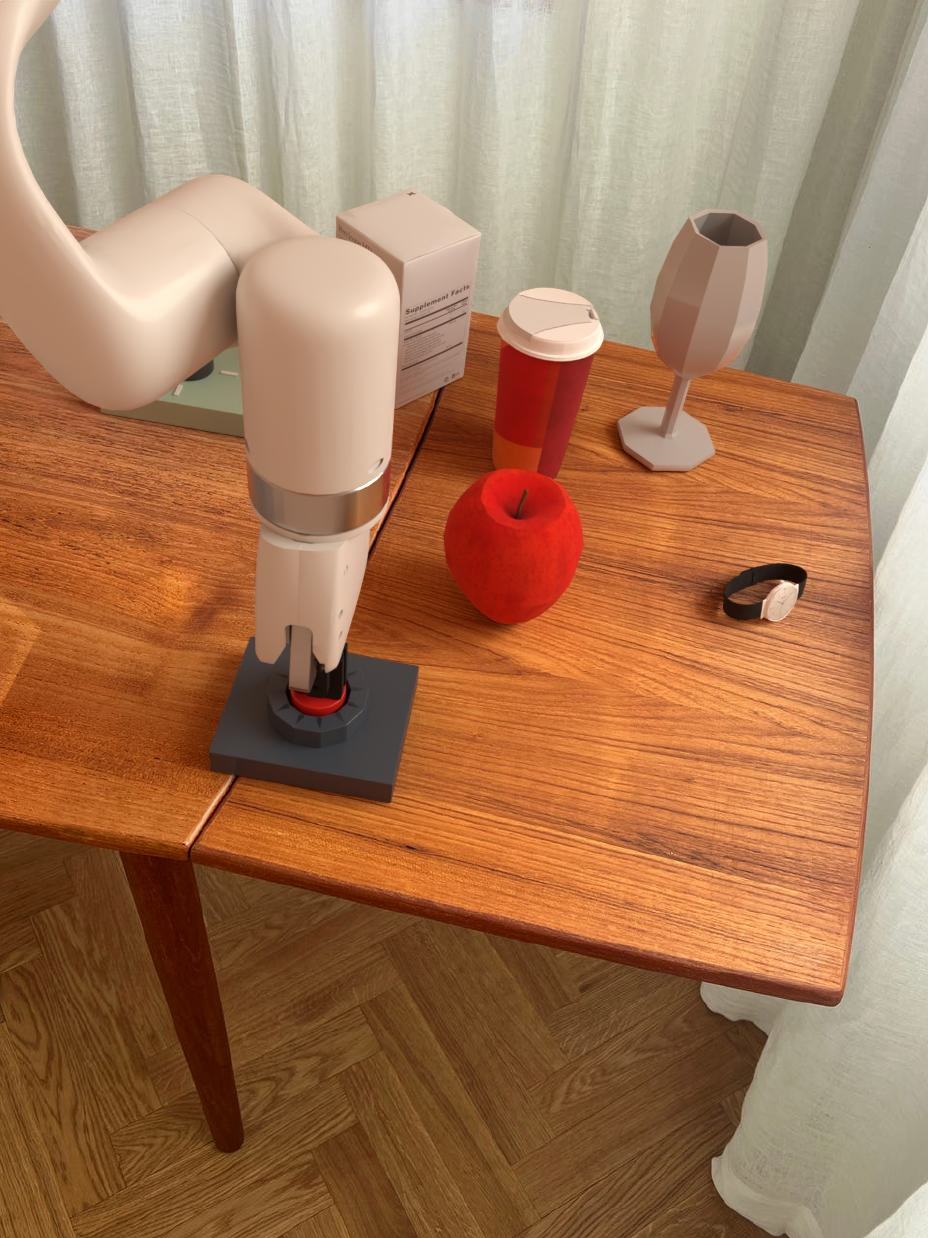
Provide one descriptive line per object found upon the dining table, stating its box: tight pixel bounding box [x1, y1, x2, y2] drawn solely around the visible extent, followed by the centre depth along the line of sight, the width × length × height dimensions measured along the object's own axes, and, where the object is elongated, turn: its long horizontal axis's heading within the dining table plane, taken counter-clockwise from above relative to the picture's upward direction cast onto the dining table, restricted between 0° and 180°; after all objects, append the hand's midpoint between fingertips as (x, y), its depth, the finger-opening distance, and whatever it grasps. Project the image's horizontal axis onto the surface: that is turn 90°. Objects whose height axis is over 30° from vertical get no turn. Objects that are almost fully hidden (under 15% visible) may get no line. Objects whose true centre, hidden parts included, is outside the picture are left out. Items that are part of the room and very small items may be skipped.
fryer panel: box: [99, 346, 245, 439], centre depth 97 cm, size 13×10×3 cm
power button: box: [291, 684, 346, 717], centre depth 73 cm, size 4×4×2 cm
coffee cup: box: [492, 287, 605, 480], centre depth 91 cm, size 8×8×15 cm
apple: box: [442, 468, 585, 625], centre depth 80 cm, size 10×10×12 cm
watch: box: [722, 562, 809, 622], centre depth 86 cm, size 8×5×4 cm, turn 122°
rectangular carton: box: [335, 187, 483, 411], centre depth 98 cm, size 9×9×15 cm
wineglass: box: [615, 208, 769, 472], centre depth 92 cm, size 9×9×21 cm
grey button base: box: [208, 636, 420, 804], centre depth 74 cm, size 12×10×4 cm
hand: (320, 687), depth 72 cm, fingers closed
